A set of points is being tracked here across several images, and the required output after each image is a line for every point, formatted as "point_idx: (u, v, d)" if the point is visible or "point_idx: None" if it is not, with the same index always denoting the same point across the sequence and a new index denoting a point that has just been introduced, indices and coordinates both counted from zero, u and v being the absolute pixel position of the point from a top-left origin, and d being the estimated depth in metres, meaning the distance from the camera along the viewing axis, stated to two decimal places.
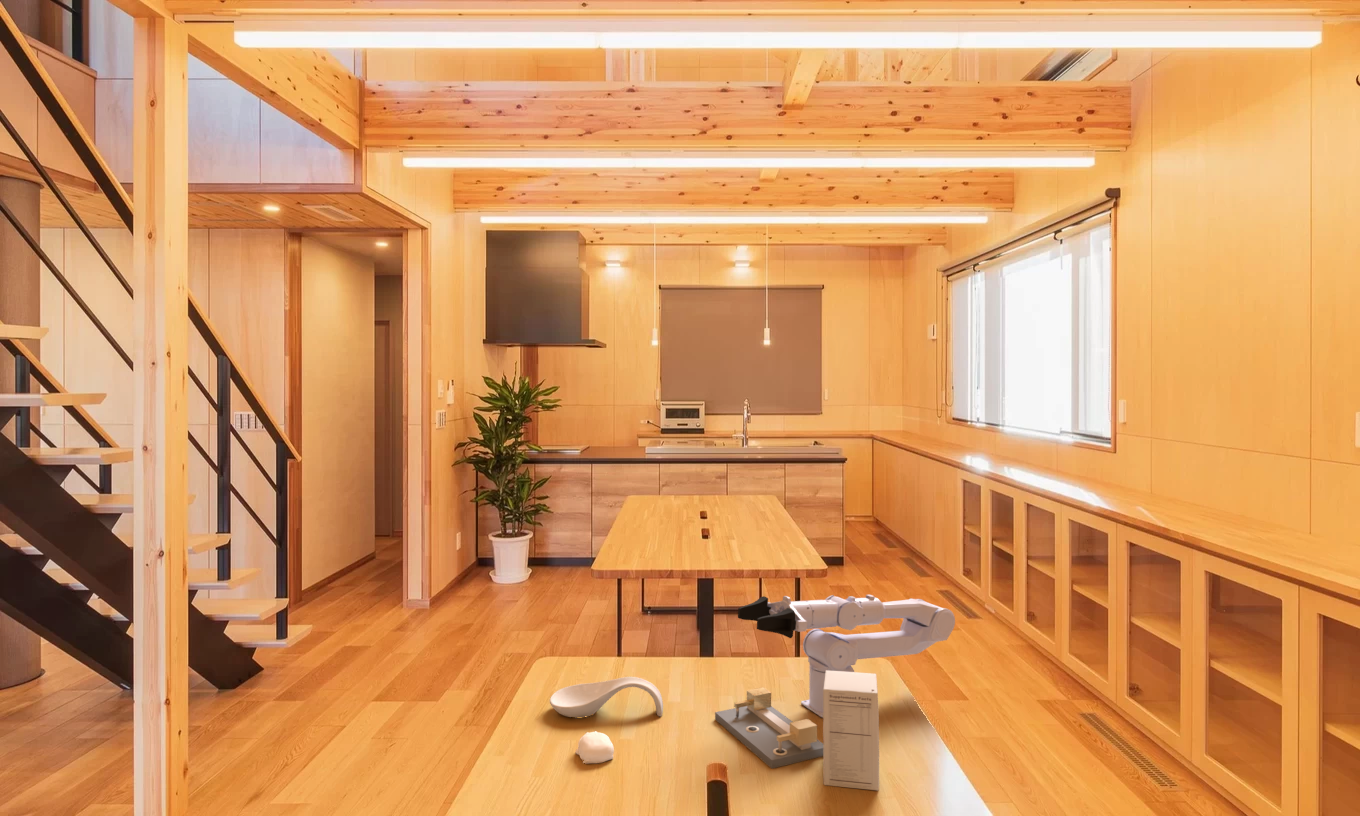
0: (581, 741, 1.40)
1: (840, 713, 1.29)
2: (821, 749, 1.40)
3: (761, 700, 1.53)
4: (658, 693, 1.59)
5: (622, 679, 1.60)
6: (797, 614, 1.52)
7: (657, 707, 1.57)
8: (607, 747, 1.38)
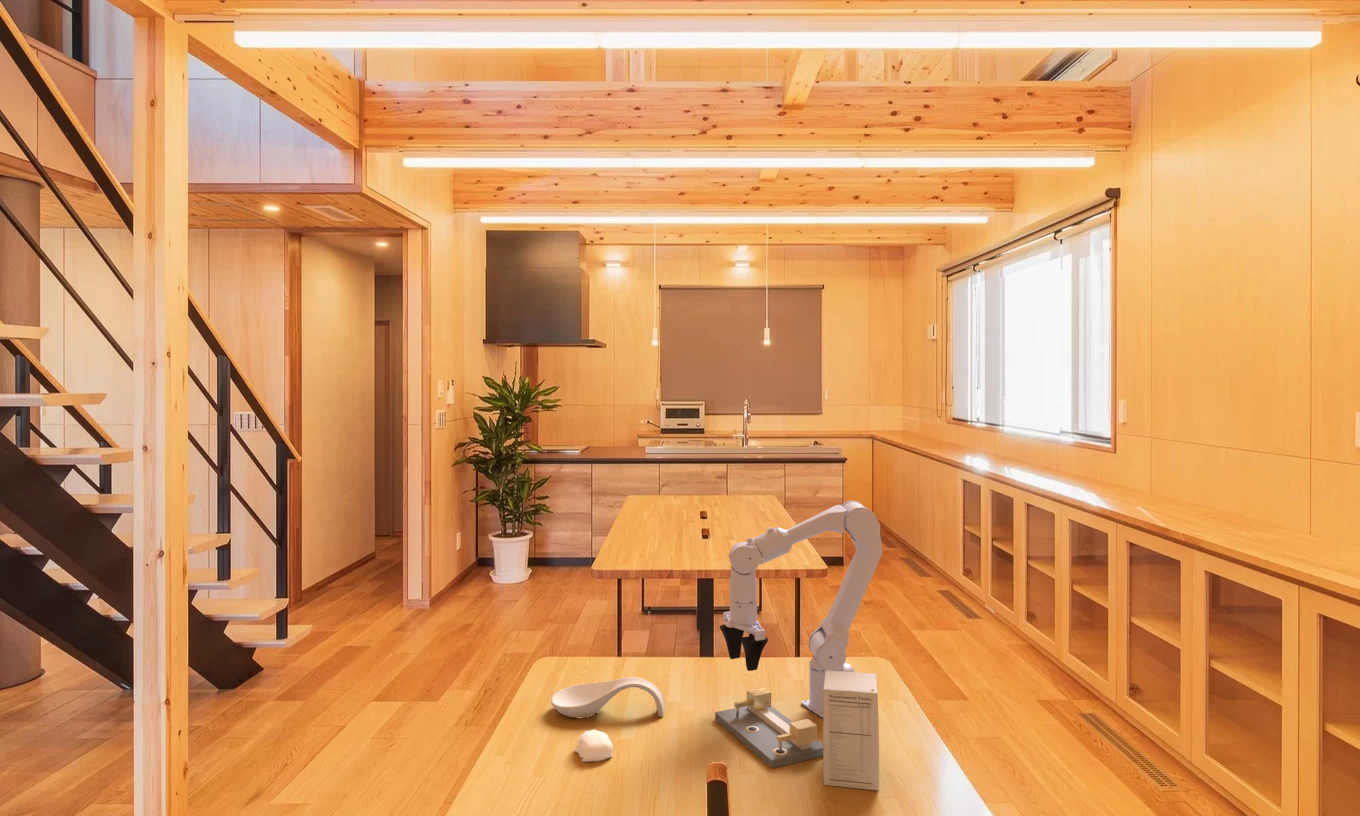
0: (580, 739, 1.41)
1: (840, 713, 1.29)
2: (821, 749, 1.40)
3: (761, 700, 1.53)
4: (659, 694, 1.59)
5: (623, 679, 1.60)
6: (747, 630, 1.56)
7: (658, 708, 1.56)
8: (606, 745, 1.38)
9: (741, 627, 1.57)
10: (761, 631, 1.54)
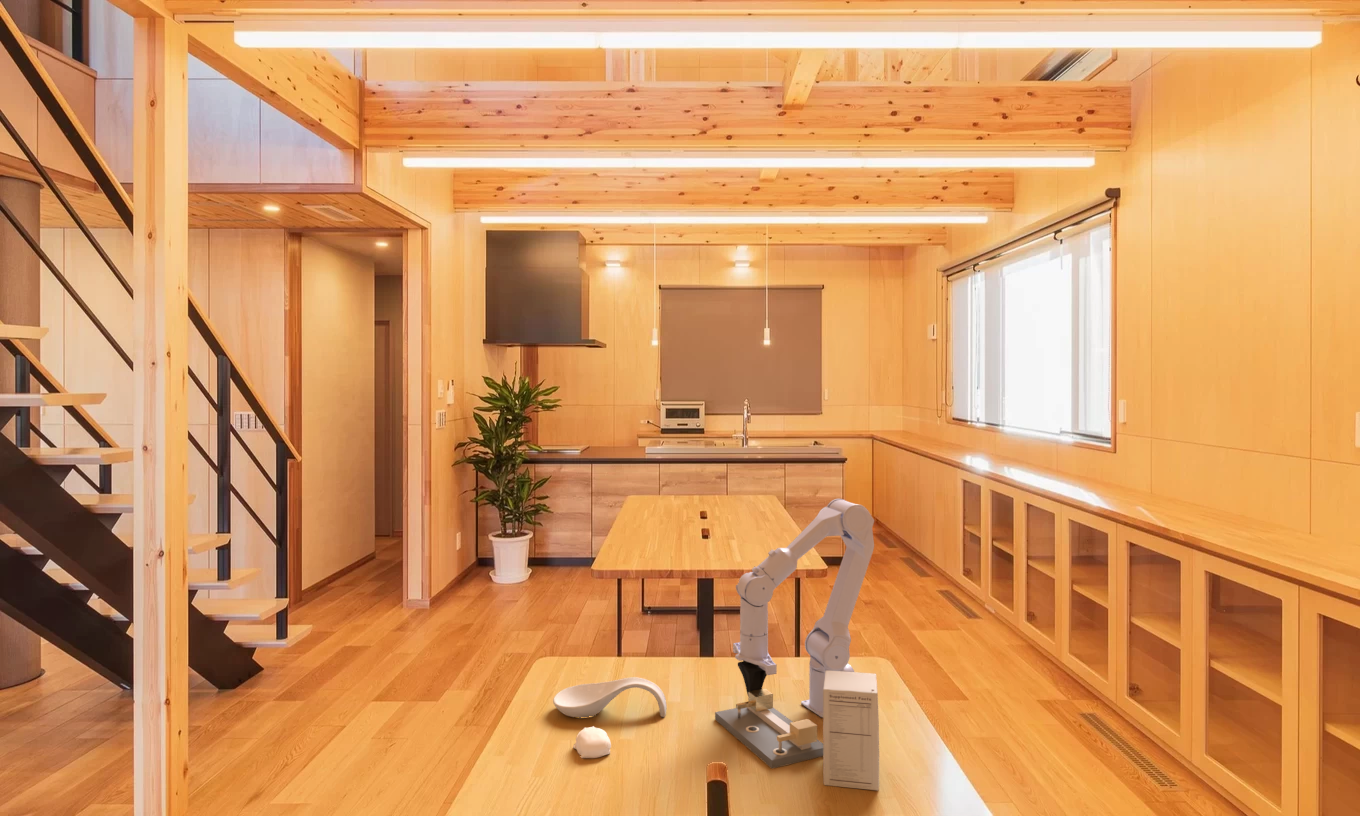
0: (578, 736, 1.42)
1: (840, 713, 1.29)
2: (821, 749, 1.40)
3: (763, 701, 1.53)
4: (661, 694, 1.59)
5: (625, 679, 1.60)
6: (758, 664, 1.52)
7: (660, 708, 1.56)
8: (604, 742, 1.40)
9: (752, 660, 1.53)
10: (772, 665, 1.50)
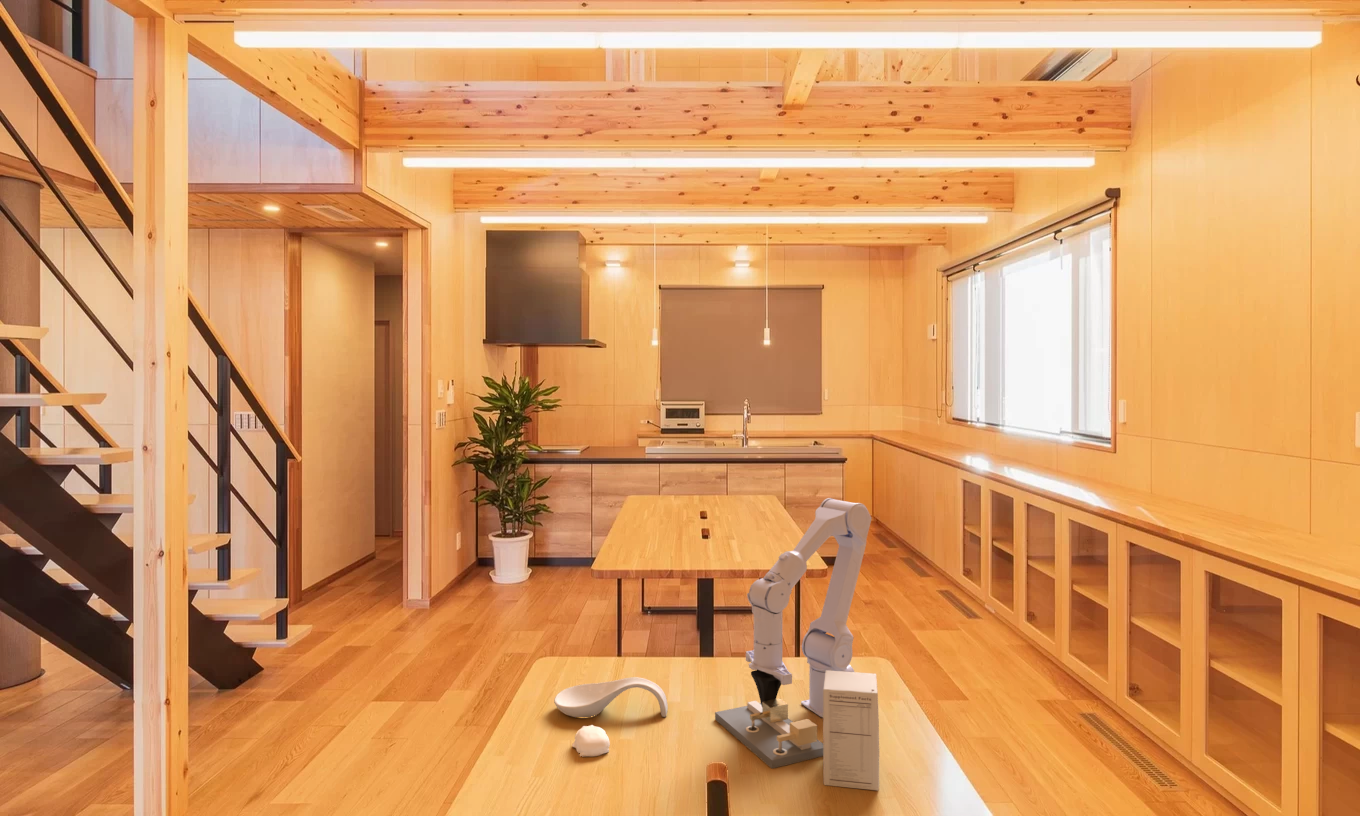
0: (577, 735, 1.42)
1: (840, 713, 1.29)
2: (821, 749, 1.40)
3: (778, 712, 1.48)
4: (662, 694, 1.59)
5: (626, 679, 1.60)
6: (773, 673, 1.47)
7: (661, 708, 1.56)
8: (603, 740, 1.40)
9: (766, 670, 1.48)
10: (788, 675, 1.45)
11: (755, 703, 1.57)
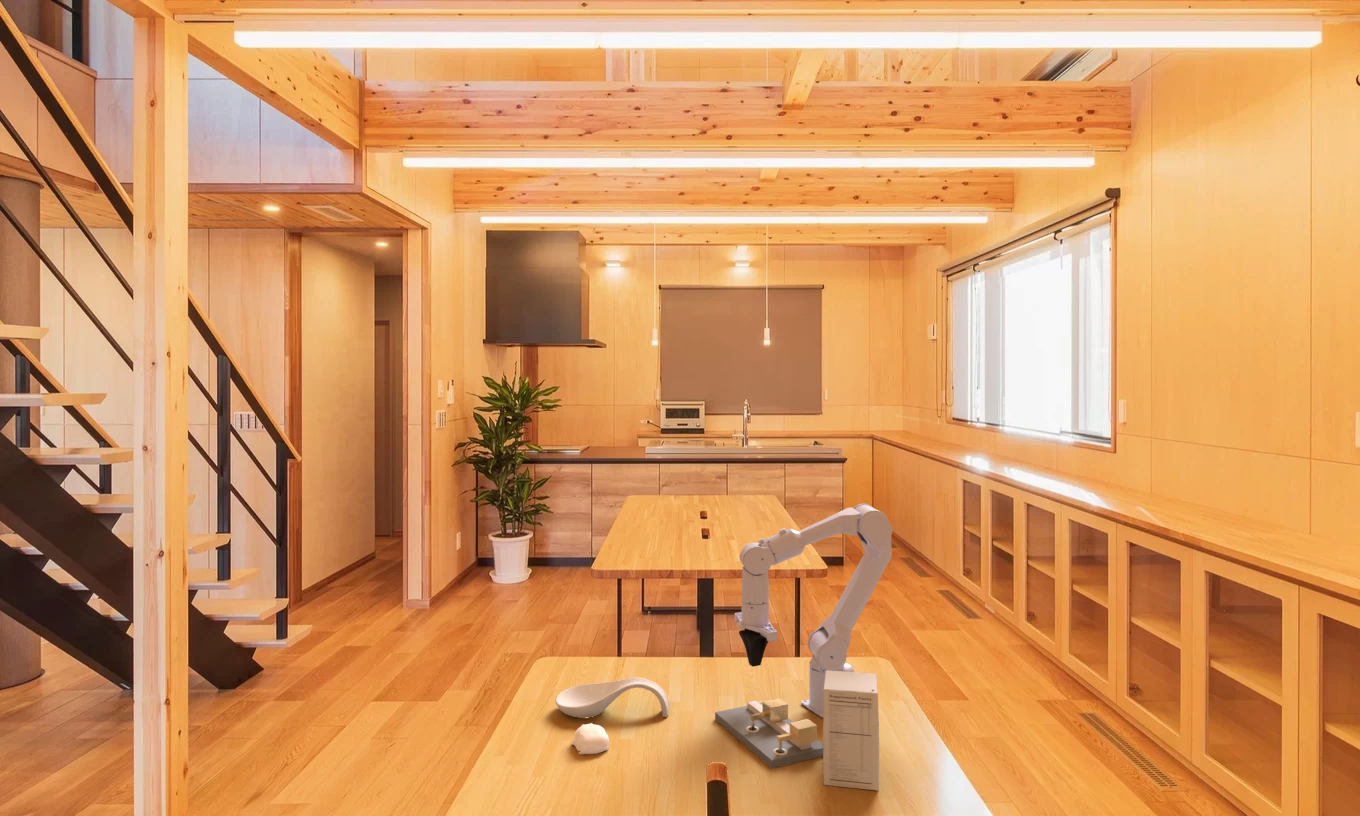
0: (577, 733, 1.43)
1: (840, 713, 1.29)
2: (821, 749, 1.40)
3: (778, 712, 1.48)
4: (664, 694, 1.59)
5: (628, 679, 1.60)
6: (759, 631, 1.55)
7: (662, 708, 1.56)
8: (602, 738, 1.41)
9: (753, 628, 1.56)
10: (773, 632, 1.53)
11: (755, 703, 1.57)
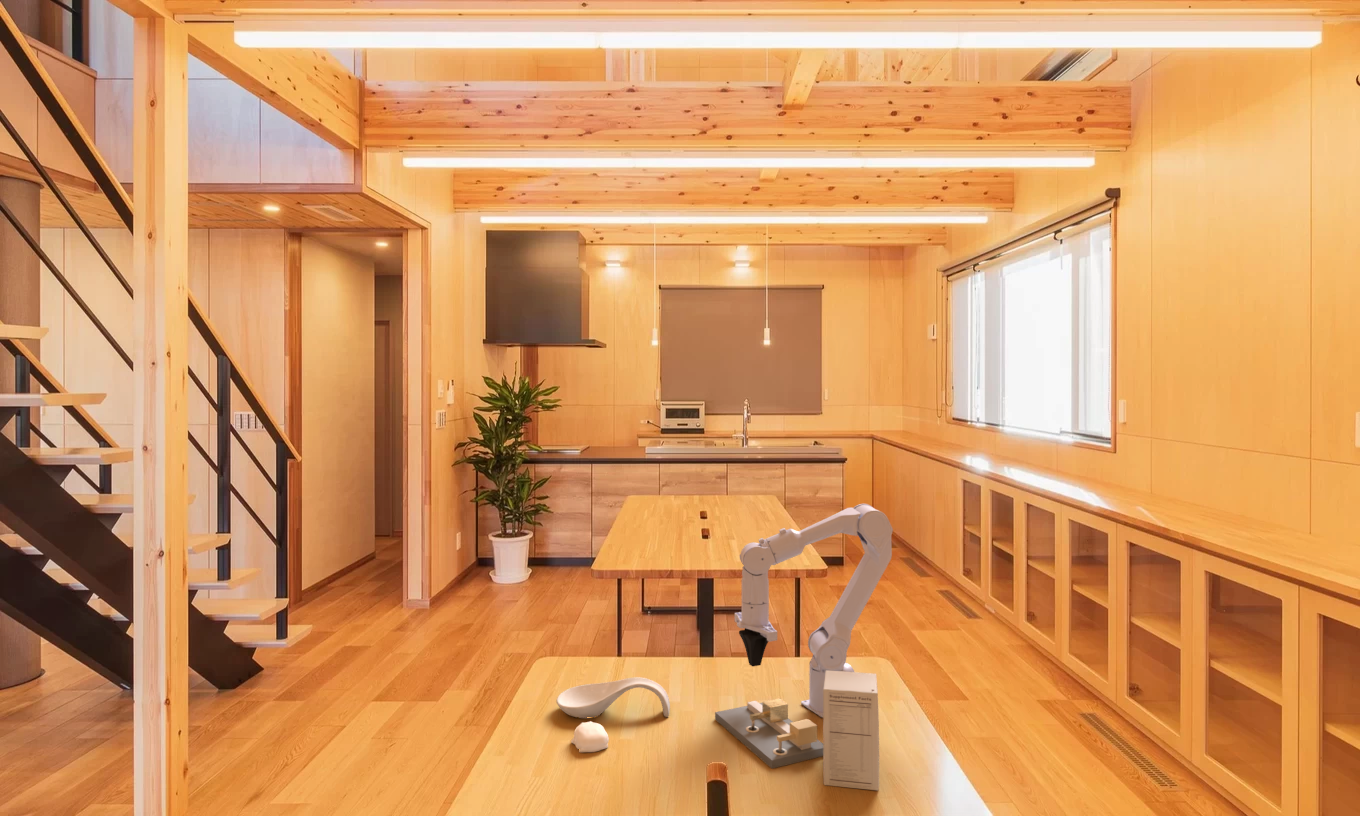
0: (576, 731, 1.44)
1: (840, 713, 1.29)
2: (821, 749, 1.40)
3: (778, 712, 1.48)
4: (665, 694, 1.59)
5: (629, 679, 1.60)
6: (759, 631, 1.55)
7: (664, 708, 1.56)
8: (602, 736, 1.42)
9: (753, 628, 1.56)
10: (773, 632, 1.53)
11: (755, 703, 1.57)
